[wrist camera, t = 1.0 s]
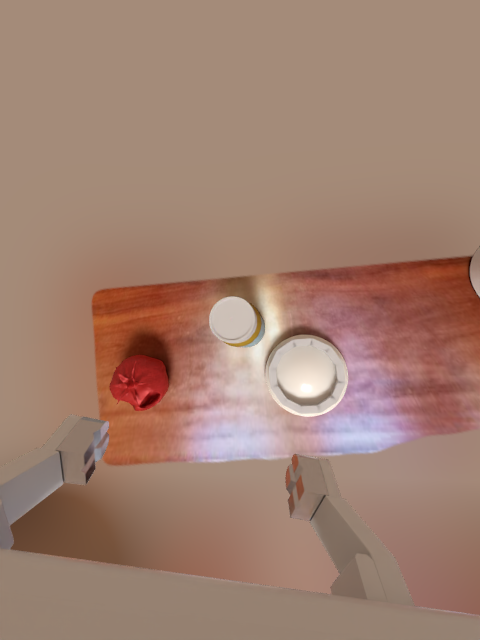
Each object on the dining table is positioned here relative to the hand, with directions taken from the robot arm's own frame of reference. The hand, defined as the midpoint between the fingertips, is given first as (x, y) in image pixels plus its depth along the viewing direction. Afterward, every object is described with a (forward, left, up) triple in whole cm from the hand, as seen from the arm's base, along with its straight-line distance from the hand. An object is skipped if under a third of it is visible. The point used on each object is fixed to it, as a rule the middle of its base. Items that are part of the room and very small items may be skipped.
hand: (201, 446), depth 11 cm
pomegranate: (+19, +11, -36) cm, 42 cm away
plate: (-7, -3, -36) cm, 37 cm away
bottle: (+6, -6, -36) cm, 37 cm away
